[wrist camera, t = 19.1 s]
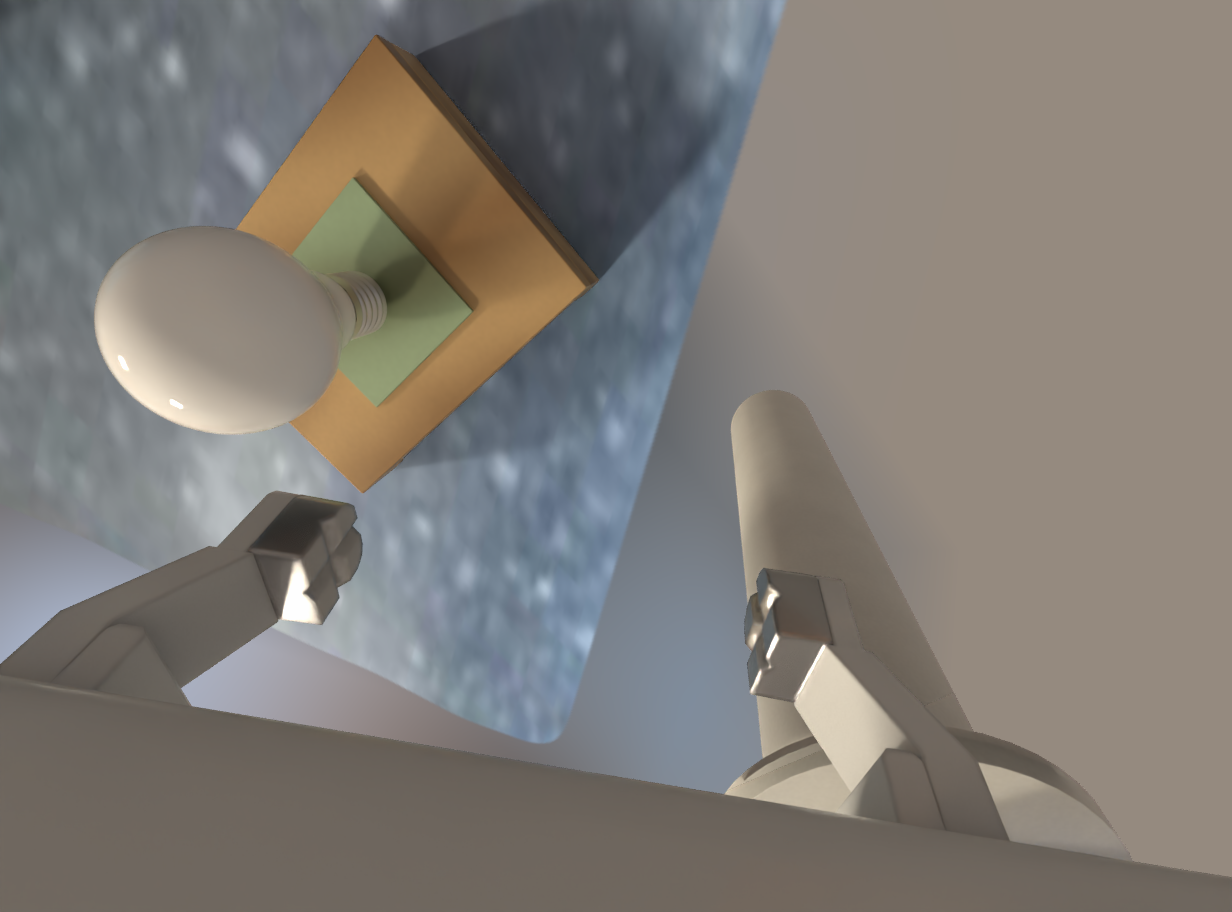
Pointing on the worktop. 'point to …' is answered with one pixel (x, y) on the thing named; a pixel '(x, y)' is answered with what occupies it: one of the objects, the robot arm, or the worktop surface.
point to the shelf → (413, 256)
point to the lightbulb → (228, 328)
